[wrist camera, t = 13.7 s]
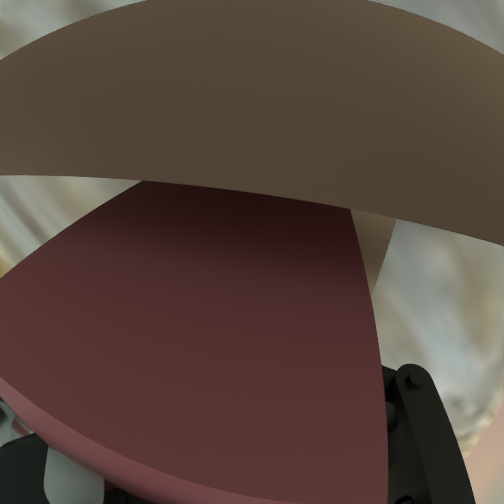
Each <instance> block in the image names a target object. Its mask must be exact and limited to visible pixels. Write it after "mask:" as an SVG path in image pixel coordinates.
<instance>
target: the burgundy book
mask: <svg viewBox="0 0 504 504" xmlns="http://www.w3.org/2000/svg"><path fill="white" fill-rule="evenodd" d="M0 396H1V398H2V399H3V400H4V401H5V402H6V403H7V404H8V406H9V407H10V408H11V409H12V410H13V411H14V412H15V413H16V414H17V415H18V416H19V417H20V418H21V419H22V420H23V421H24V422H25V423H26V424H27V425H28V426H29V427H30V428H31V429H32V430H33V431H34V432H35V433H36V434H37V435H38V436H39V437H41V438H42V439H43V440H44V441H45V442H46V443H47V444H48V445H50V446H52V447H53V448H55V449H56V450H58V451H59V452H61V453H62V454H64V455H65V456H67V457H68V458H70V459H72V460H73V461H75V462H77V463H78V464H80V465H82V466H83V467H85V468H87V469H88V470H90V471H92V472H94V473H96V474H97V475H99V476H101V477H103V478H105V479H106V480H108V481H109V482H110V483H112V484H113V485H115V486H116V487H118V488H120V489H122V490H123V491H125V492H127V493H130V494H132V495H134V496H136V497H139V498H141V499H143V500H146V501H148V502H151V503H153V504H387V500H388V440H387V420H386V406H385V394H384V384H383V375H382V366H381V358H380V351H379V344H378V337H377V330H376V324H375V318H374V312H373V307H372V301H371V296H370V291H369V286H368V281H367V276H366V272H365V267H364V263H363V258H362V254H361V250H360V245H359V241H358V237H357V233H356V229H355V226H354V222H353V218H352V214H351V211H350V209H348V208H343V207H338V206H332V205H327V204H321V203H315V202H309V201H303V200H297V199H291V198H285V197H278V196H272V195H265V194H258V193H251V192H244V191H236V190H229V189H221V188H212V187H204V186H195V185H185V184H176V183H165V182H154V181H141V182H139V183H138V184H136V185H134V186H132V187H131V188H129V189H127V190H125V191H124V192H122V193H120V194H119V195H117V196H115V197H114V198H112V199H110V200H109V201H107V202H106V203H104V204H102V205H101V206H99V207H97V208H96V209H94V210H93V211H91V212H90V213H88V214H87V215H85V216H84V217H82V218H80V219H79V220H77V221H76V222H74V223H73V224H72V225H70V226H69V227H67V228H66V229H64V230H63V231H61V232H60V233H59V234H57V235H56V236H54V237H53V238H52V239H50V240H49V241H47V242H46V243H45V244H43V245H42V246H41V247H39V248H38V249H37V250H35V251H34V252H33V253H31V254H30V255H29V256H27V257H26V258H25V259H24V260H22V261H21V262H20V263H19V264H17V265H16V266H15V267H14V268H12V269H11V270H10V271H9V272H8V273H6V274H5V275H4V276H3V277H2V278H0Z"/></svg>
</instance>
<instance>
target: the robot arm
mask: <svg viewBox="0 0 504 504" xmlns="http://www.w3.org/2000/svg"><path fill="white" fill-rule="evenodd" d="M381 366H382V375H383V384H384V394H385V406H386V420H387V440H388V500H387V504H476V503H475V499H474V495H473V491H472V487H471V484H470V480H469V477H468V473H467V470H466V467H465V464H464V460H463V457H462V454H461V451H460V448H459V445H458V443H457V440H456V437H455V434H454V431H453V429H452V426H451V423H450V421H449V418H448V416H447V413H446V411H445V408H444V406H443V403H442V401H441V398H440V396H439V394H438V391H437V389H436V387H435V384H434V382H433V380H432V378H431V376H430V374H429V373H428V372H427V371H426V370H425V369H424V368H422V367H421V366H419V365H416V364H405V365H402V366H401V367H400V368H399V369H398V370H397V371H396V370H393V369H391V368H388V367H385V366H383V365H381ZM0 504H153V503H151V502H148V501H146V500H143V499H141V498H139V497H136V496H134V495H132V494H130V493H127V492H125V491H123V490H122V489H120V488H118V487H116V486H115V485H113V484H112V483H110V482H109V481H108V480H106V479H105V478H103V477H101V476H99V475H97V474H96V473H94V472H92V471H90V470H88V469H87V468H85V467H83V466H82V465H80V464H78V463H77V462H75V461H73V460H72V459H70V458H68V457H67V456H65V455H64V454H62V453H61V452H59V451H58V450H56V449H55V448H53V447H52V446H50V445H48V444H47V443H46V442H45V441H44V440H43V439H42V438H41V437H39V436H38V435H37V434H36V433H35V432H34V431H33V430H32V429H31V428H30V427H29V426H28V425H27V424H26V423H25V422H24V421H23V420H22V419H21V418H20V417H19V416H18V415H17V414H16V413H15V412H14V411H13V410H12V409H11V408H10V407H9V406H8V404H7V403H6V402H5V401H4V400H3V399H2V398H1V396H0Z"/></svg>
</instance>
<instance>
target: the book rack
mask: <svg viewBox="0 0 504 504" xmlns="http://www.w3.org/2000/svg"><path fill="white" fill-rule="evenodd" d="M0 175H46V176H78V177H98V178H115V179H129V180H142V181H154V182H165V183H176V184H185V185H195V186H204V187H212V188H221V189H229V190H236V191H244V192H251V193H258V194H265V195H272V196H278V197H285V198H291V199H297V200H303V201H309V202H315V203H321V204H327V205H332V206H338V207H343V208H348V209H350V211H351V214H352V218H353V222H354V226H355V229H356V233H357V237H358V241H359V245H360V250H361V254H362V258H363V263H364V267H365V272H366V276H367V281H368V286H369V291H370V296H371V294H372V291H373V289H374V286H375V283H376V280H377V278H378V275H379V272H380V269H381V266H382V263H383V260H384V257H385V254H386V251H387V248H388V245H389V242H390V238H391V235H392V232H393V228H394V225H395V222H396V218H397V219H401V220H406V221H410V222H415V223H419V224H423V225H427V226H431V227H436V228H440V229H444V230H448V231H451V232H455V233H459V234H463V235H467V236H470V237H474V238H478V239H481V240H485V241H488V242H492V243H495V244H499V245H502V246H504V55H503V54H501V53H500V52H498V51H496V50H494V49H493V48H491V47H489V46H487V45H485V44H483V43H482V42H480V41H478V40H476V39H474V38H472V37H470V36H468V35H466V34H463V33H461V32H459V31H457V30H455V29H452V28H450V27H448V26H445V25H443V24H441V23H438V22H435V21H433V20H430V19H428V18H425V17H422V16H419V15H416V14H413V13H410V12H407V11H404V10H401V9H398V8H394V7H391V6H387V5H383V4H379V3H375V2H371V1H367V0H146V1H142V2H138V3H134V4H130V5H126V6H123V7H119V8H116V9H112V10H109V11H106V12H103V13H100V14H97V15H94V16H91V17H88V18H85V19H83V20H80V21H78V22H75V23H72V24H70V25H68V26H65V27H63V28H61V29H58V30H56V31H54V32H52V33H49V34H47V35H45V36H43V37H41V38H39V39H37V40H35V41H33V42H31V43H29V44H27V45H26V46H24V47H22V48H20V49H18V50H17V51H15V52H13V53H11V54H10V55H8V56H6V57H5V58H3V59H1V60H0Z"/></svg>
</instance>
